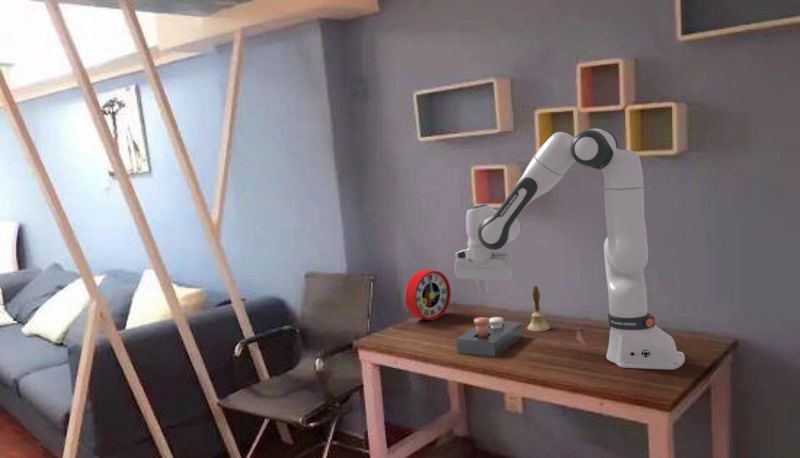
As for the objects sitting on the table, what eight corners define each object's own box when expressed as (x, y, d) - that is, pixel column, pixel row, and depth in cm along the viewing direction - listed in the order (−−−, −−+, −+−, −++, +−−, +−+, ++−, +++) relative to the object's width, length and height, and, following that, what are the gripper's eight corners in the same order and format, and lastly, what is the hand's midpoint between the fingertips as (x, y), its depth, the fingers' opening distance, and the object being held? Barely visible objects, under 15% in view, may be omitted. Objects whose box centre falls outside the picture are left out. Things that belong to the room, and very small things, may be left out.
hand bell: (550, 331, 232) (547, 288, 230) (527, 332, 234) (524, 289, 232) (549, 324, 240) (547, 282, 238) (527, 325, 242) (524, 284, 240)
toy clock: (417, 325, 255) (412, 276, 253) (407, 323, 260) (403, 275, 257) (452, 313, 268) (448, 266, 266) (442, 311, 273) (438, 265, 270)
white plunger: (506, 333, 229) (505, 317, 228) (500, 337, 225) (499, 321, 224) (493, 332, 232) (492, 316, 231) (487, 336, 228) (485, 320, 227)
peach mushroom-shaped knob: (492, 334, 220) (491, 317, 219) (486, 338, 215) (485, 322, 215) (479, 332, 222) (477, 316, 222) (472, 337, 218) (471, 320, 217)
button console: (522, 336, 230) (521, 322, 229) (495, 357, 211) (493, 342, 210) (486, 332, 237) (485, 319, 237) (457, 353, 218) (456, 338, 218)
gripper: (513, 251, 215) (516, 291, 217) (459, 250, 227) (463, 288, 229) (505, 254, 210) (508, 296, 212) (450, 253, 222) (454, 292, 223)
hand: (484, 292), depth 220 cm, fingers closed
